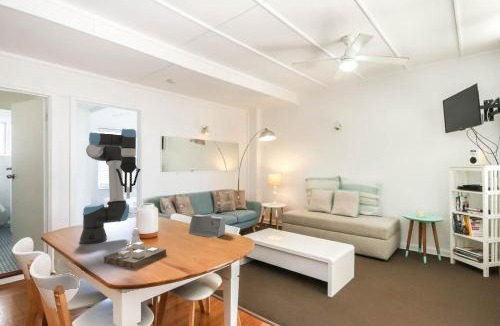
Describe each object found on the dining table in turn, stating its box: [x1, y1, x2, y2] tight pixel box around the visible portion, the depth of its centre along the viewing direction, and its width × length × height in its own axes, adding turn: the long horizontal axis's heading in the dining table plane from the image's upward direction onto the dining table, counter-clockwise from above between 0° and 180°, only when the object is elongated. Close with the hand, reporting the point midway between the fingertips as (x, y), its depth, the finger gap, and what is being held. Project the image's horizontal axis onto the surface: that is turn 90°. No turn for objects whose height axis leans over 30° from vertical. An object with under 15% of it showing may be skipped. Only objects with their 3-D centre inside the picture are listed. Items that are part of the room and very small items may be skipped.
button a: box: [117, 249, 130, 256], centre depth 143 cm, size 4×4×4 cm
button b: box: [132, 249, 144, 259], centre depth 139 cm, size 4×4×4 cm
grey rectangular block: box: [188, 214, 226, 239], centre depth 198 cm, size 25×16×12 cm, turn 64°
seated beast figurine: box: [126, 227, 143, 249], centre depth 163 cm, size 10×9×12 cm
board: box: [103, 245, 167, 270], centre depth 145 cm, size 20×22×4 cm
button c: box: [133, 241, 145, 250], centre depth 152 cm, size 4×4×4 cm
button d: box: [147, 247, 159, 253], centre depth 148 cm, size 4×4×4 cm
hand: (128, 198), depth 154 cm, fingers closed
